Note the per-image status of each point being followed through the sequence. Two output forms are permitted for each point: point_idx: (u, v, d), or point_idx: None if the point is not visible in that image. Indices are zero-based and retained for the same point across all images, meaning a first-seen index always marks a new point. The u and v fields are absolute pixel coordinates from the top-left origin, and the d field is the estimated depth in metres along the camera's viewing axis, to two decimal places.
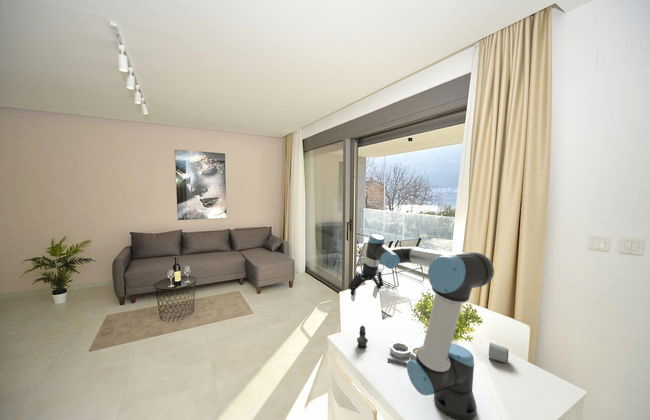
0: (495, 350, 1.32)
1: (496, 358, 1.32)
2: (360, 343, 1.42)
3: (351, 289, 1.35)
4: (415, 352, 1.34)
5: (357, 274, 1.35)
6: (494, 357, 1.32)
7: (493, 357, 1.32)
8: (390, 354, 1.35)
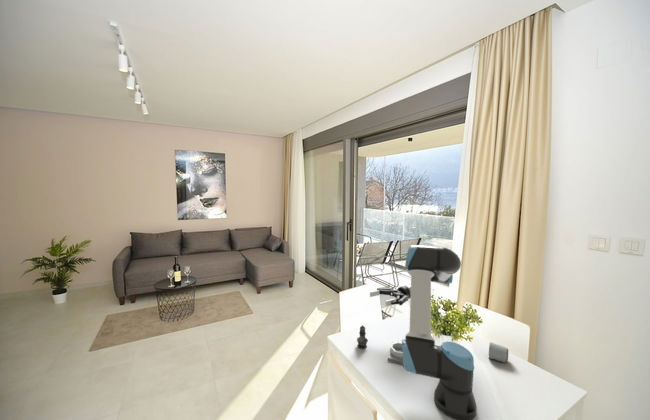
0: (495, 350, 1.33)
1: (496, 358, 1.32)
2: (360, 343, 1.42)
3: (377, 288, 1.59)
4: None
5: None
6: (494, 357, 1.32)
7: (493, 357, 1.33)
8: (390, 354, 1.35)
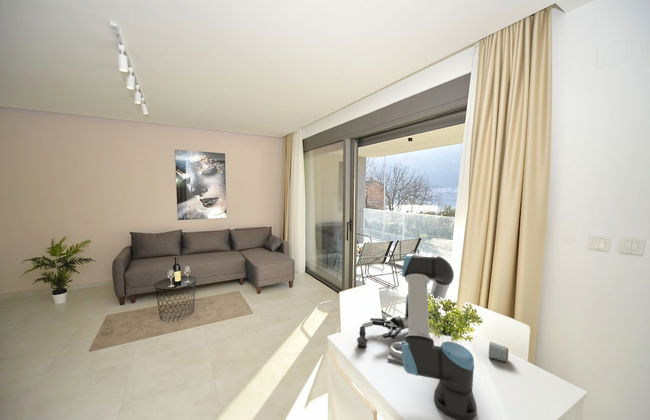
0: (495, 349, 1.33)
1: (496, 357, 1.33)
2: (360, 343, 1.42)
3: (371, 318, 1.59)
4: None
5: None
6: (494, 356, 1.33)
7: (493, 356, 1.33)
8: (390, 354, 1.35)
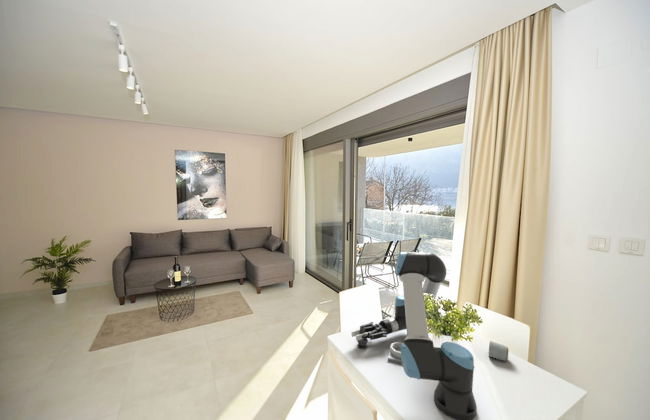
0: (495, 348, 1.34)
1: (496, 356, 1.33)
2: (360, 343, 1.42)
3: (360, 326, 1.49)
4: None
5: None
6: (494, 355, 1.33)
7: (493, 355, 1.34)
8: (390, 354, 1.35)
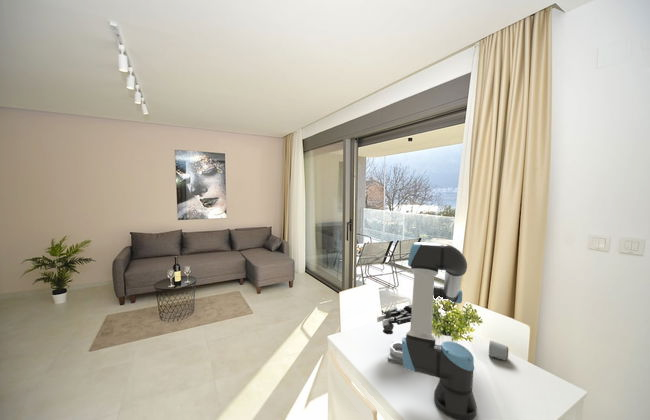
0: (495, 348, 1.34)
1: (496, 356, 1.34)
2: (386, 328, 1.37)
3: (385, 311, 1.44)
4: None
5: None
6: (494, 355, 1.34)
7: (493, 355, 1.34)
8: (390, 354, 1.35)
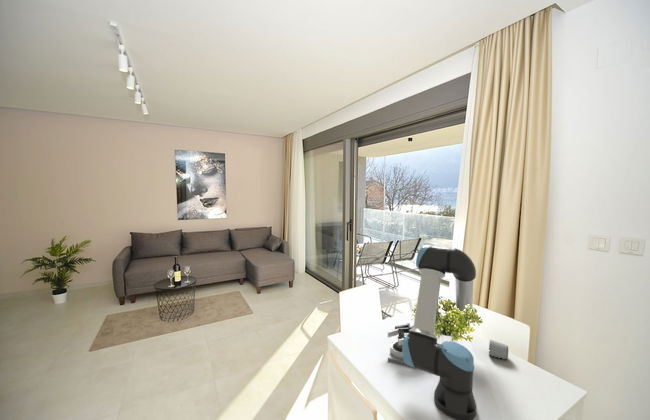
0: (495, 347, 1.35)
1: (496, 355, 1.34)
2: (399, 348, 1.35)
3: (395, 326, 1.44)
4: None
5: None
6: (494, 354, 1.35)
7: (493, 354, 1.35)
8: (390, 354, 1.35)
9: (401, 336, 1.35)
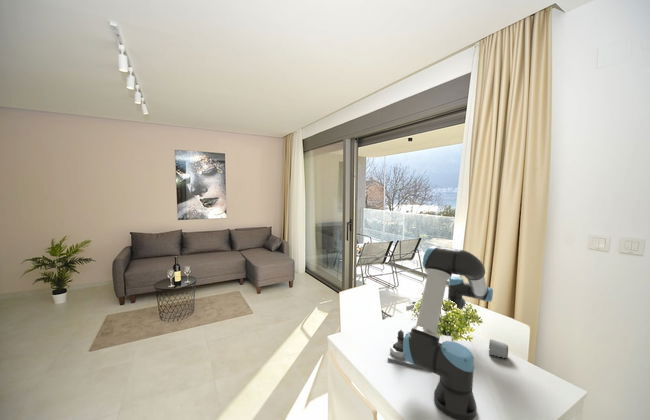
0: (495, 346, 1.35)
1: (496, 354, 1.35)
2: (399, 349, 1.35)
3: None
4: None
5: None
6: (494, 353, 1.35)
7: (493, 353, 1.36)
8: (390, 354, 1.35)
9: (400, 336, 1.35)
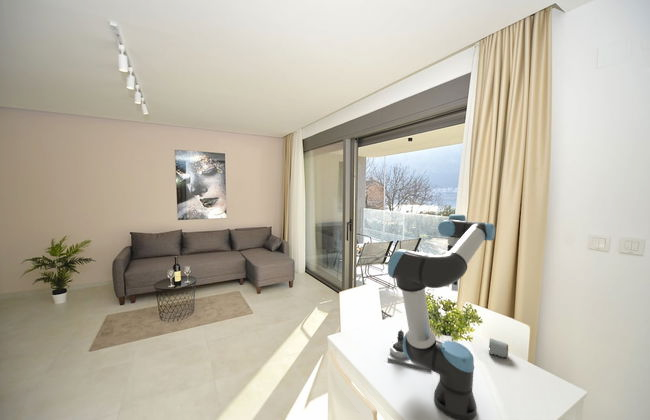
0: (495, 345, 1.36)
1: (496, 353, 1.36)
2: (399, 349, 1.35)
3: None
4: None
5: None
6: (494, 352, 1.36)
7: (493, 352, 1.36)
8: (390, 354, 1.35)
9: (400, 336, 1.35)
